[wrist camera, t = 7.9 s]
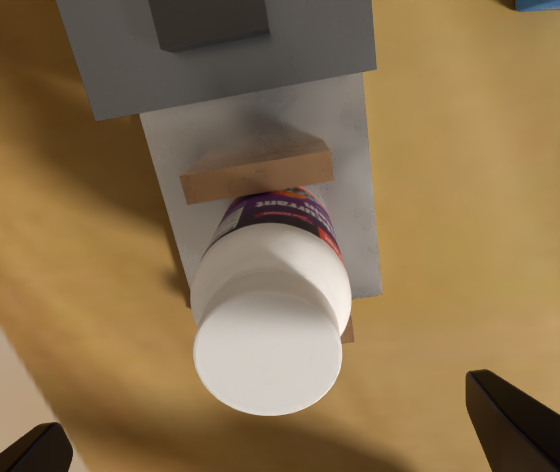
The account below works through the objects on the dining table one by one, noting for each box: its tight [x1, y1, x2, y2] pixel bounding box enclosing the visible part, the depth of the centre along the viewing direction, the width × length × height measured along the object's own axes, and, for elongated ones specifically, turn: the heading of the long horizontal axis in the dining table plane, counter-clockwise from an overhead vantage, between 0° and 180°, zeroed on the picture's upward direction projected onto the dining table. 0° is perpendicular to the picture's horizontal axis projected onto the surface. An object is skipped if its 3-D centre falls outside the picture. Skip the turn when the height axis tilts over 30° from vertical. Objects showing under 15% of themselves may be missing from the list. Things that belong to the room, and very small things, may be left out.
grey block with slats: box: [56, 0, 382, 344], centre depth 15 cm, size 16×10×7 cm, turn 10°
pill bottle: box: [190, 186, 351, 416], centre depth 15 cm, size 5×5×10 cm
